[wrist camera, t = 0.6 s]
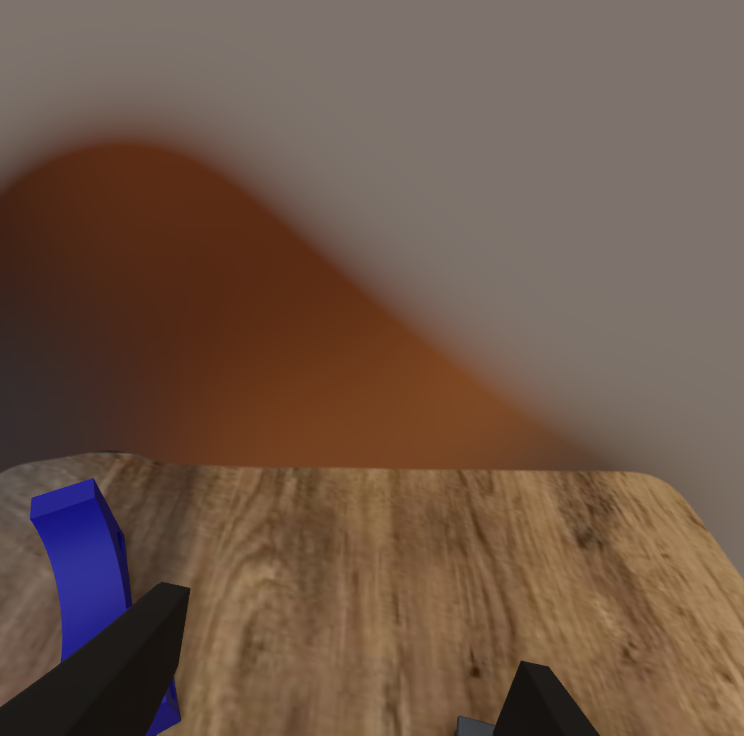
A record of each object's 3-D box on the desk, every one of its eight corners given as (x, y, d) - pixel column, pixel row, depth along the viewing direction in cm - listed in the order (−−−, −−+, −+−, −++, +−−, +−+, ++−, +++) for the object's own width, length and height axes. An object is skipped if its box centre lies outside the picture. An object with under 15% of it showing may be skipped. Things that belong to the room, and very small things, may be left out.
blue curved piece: (180, 720, 21) (149, 678, 17) (75, 780, 19) (15, 747, 16) (148, 525, 29) (122, 469, 26) (71, 554, 27) (31, 497, 24)
